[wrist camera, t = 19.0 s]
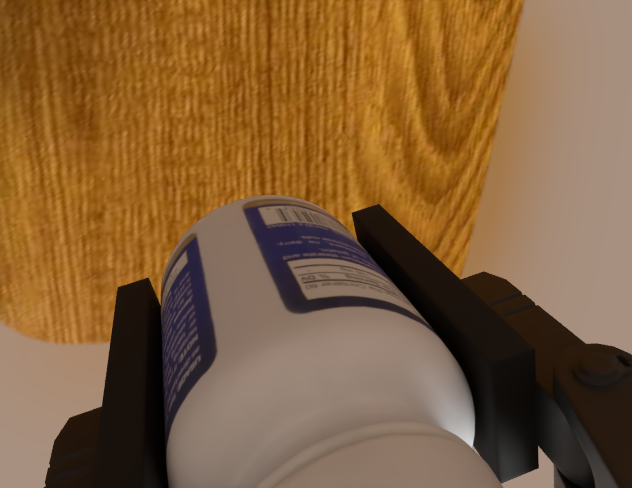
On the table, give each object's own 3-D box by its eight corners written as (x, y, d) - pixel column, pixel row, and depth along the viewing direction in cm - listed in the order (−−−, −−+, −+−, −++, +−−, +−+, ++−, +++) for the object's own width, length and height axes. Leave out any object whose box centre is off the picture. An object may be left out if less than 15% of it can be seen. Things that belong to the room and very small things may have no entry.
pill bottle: (234, 396, 15) (313, 803, 8) (116, 266, 13) (55, 676, 5) (388, 298, 15) (625, 603, 8) (301, 148, 13) (521, 378, 5)
